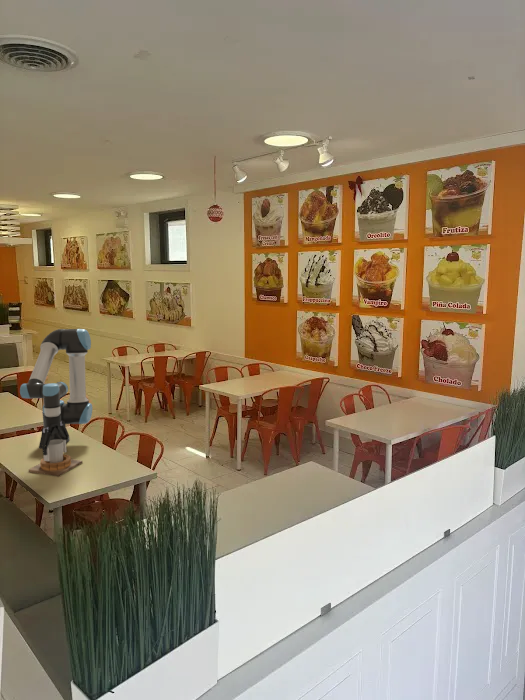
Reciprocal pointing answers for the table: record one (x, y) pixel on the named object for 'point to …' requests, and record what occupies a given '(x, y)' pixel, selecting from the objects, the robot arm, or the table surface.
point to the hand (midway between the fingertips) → (55, 456)
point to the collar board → (57, 472)
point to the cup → (56, 451)
